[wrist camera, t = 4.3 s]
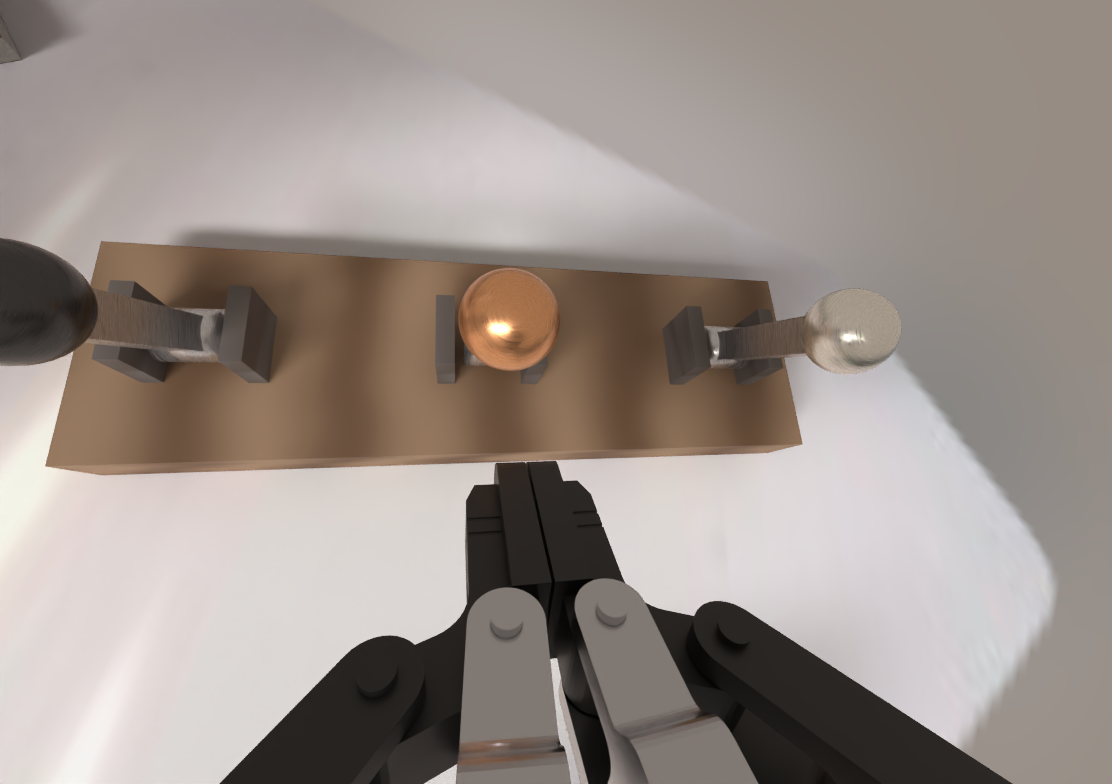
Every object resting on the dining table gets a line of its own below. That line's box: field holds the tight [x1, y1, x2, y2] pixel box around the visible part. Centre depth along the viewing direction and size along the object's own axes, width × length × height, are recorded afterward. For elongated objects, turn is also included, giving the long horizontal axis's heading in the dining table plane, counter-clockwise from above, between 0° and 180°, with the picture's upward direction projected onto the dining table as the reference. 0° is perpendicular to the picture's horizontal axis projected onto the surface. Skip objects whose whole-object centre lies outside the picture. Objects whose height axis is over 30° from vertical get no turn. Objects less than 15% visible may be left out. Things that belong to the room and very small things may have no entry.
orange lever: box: [458, 268, 561, 371], centre depth 17 cm, size 3×3×11 cm
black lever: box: [0, 238, 225, 366], centre depth 15 cm, size 3×3×11 cm
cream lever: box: [704, 289, 901, 374], centre depth 20 cm, size 3×3×11 cm
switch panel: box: [45, 241, 802, 475], centre depth 23 cm, size 34×10×6 cm, turn 93°
